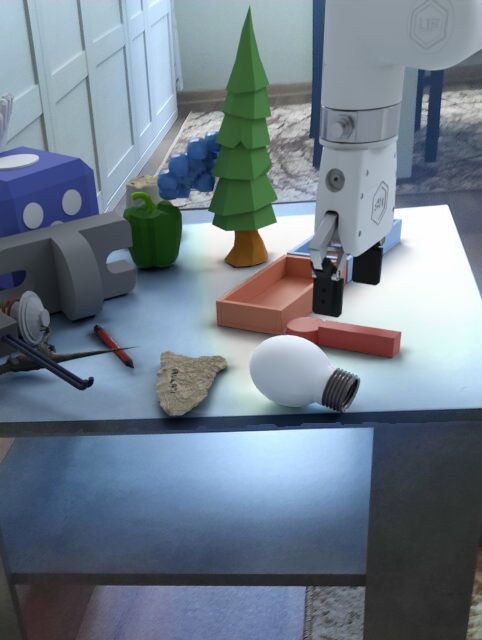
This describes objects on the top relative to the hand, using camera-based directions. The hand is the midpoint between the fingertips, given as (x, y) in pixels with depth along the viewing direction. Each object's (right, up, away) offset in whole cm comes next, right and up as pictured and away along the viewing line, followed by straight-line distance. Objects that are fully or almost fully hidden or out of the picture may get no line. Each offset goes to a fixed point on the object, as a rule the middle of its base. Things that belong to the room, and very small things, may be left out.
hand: (346, 298), depth 94 cm
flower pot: (-22, +30, +35) cm, 51 cm away
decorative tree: (-8, +15, +29) cm, 33 cm away
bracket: (-33, +12, +20) cm, 40 cm away
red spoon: (0, -4, +4) cm, 5 cm away
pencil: (-26, -4, +9) cm, 27 cm away
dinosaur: (-33, -1, +9) cm, 34 cm away
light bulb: (-2, -13, -10) cm, 17 cm away
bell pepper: (-20, +16, +31) cm, 40 cm away
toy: (-43, +24, +43) cm, 65 cm away
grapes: (-13, +27, +30) cm, 42 cm away
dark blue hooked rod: (-48, +4, +12) cm, 49 cm away
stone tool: (-16, -5, +4) cm, 17 cm away
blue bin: (+6, +14, +25) cm, 30 cm away
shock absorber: (-48, +2, +15) cm, 51 cm away
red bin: (-5, +4, +15) cm, 16 cm away
